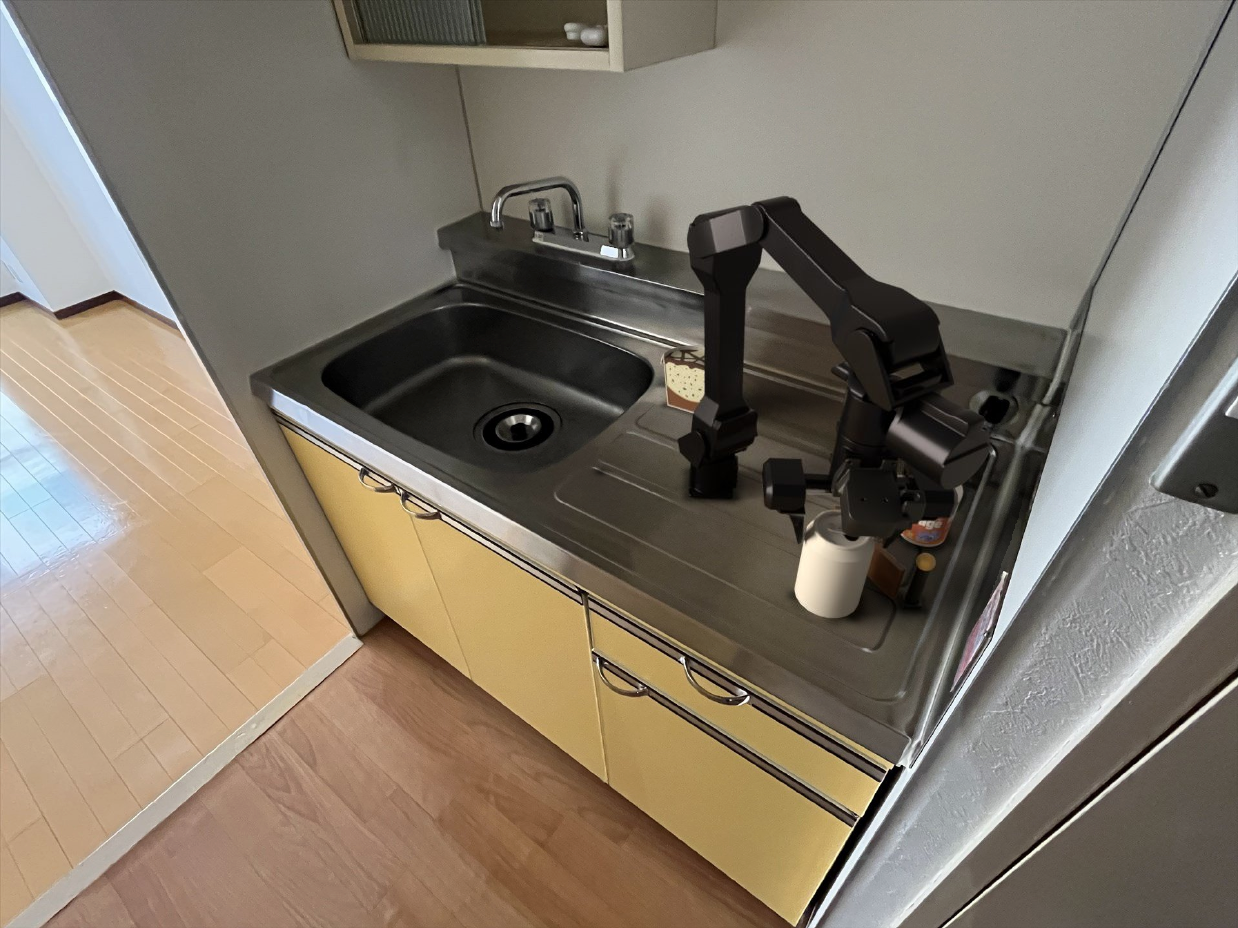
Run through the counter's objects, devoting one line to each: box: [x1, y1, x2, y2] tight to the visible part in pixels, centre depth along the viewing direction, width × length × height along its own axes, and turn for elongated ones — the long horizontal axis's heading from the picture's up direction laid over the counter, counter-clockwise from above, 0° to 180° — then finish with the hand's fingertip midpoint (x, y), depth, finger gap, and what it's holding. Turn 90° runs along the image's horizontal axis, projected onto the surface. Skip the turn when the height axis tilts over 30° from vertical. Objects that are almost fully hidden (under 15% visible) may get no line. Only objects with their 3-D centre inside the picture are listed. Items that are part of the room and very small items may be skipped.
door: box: [832, 505, 907, 600], centre depth 80 cm, size 12×2×5 cm, turn 23°
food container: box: [660, 344, 704, 414], centre depth 110 cm, size 12×6×10 cm, turn 58°
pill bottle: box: [900, 484, 964, 548], centre depth 83 cm, size 6×6×11 cm
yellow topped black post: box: [899, 552, 937, 611], centre depth 74 cm, size 2×2×8 cm
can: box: [794, 509, 876, 619], centre depth 74 cm, size 8×8×12 cm
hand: (840, 543), depth 72 cm, fingers open, 9 cm apart
